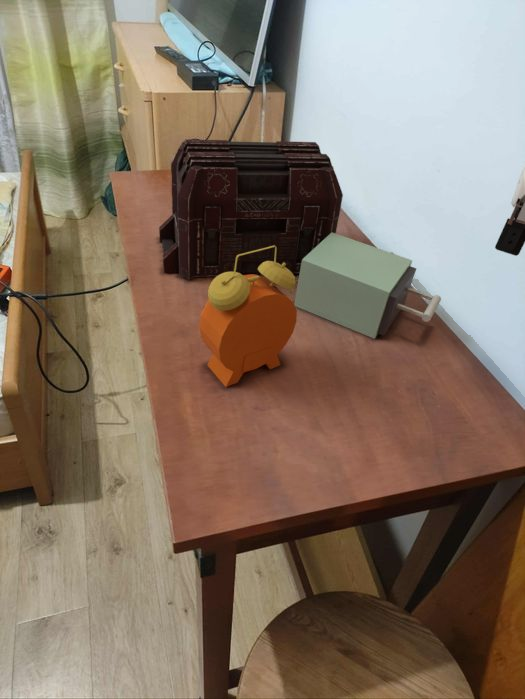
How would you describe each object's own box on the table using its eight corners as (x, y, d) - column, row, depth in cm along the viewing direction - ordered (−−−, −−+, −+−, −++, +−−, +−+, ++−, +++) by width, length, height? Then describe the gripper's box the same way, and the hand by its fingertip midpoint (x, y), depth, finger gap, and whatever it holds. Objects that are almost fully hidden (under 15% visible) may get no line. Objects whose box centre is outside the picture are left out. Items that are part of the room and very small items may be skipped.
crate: (317, 230, 115) (332, 134, 102) (344, 273, 100) (367, 168, 87) (158, 233, 107) (154, 130, 94) (164, 280, 93) (159, 166, 80)
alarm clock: (267, 340, 83) (283, 229, 71) (289, 362, 80) (310, 250, 67) (196, 366, 77) (199, 249, 64) (217, 391, 73) (224, 273, 60)
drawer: (435, 316, 92) (449, 280, 87) (417, 349, 84) (432, 311, 79) (332, 277, 99) (340, 241, 94) (307, 304, 91) (314, 267, 86)
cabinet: (397, 304, 95) (412, 260, 89) (374, 339, 87) (389, 292, 80) (322, 276, 100) (331, 232, 94) (293, 305, 92) (301, 259, 85)
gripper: (606, 133, 52) (527, 283, 64) (609, 105, 63) (540, 238, 74) (530, 115, 55) (468, 263, 66) (545, 91, 65) (489, 222, 77)
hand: (506, 250), depth 70 cm, fingers closed
